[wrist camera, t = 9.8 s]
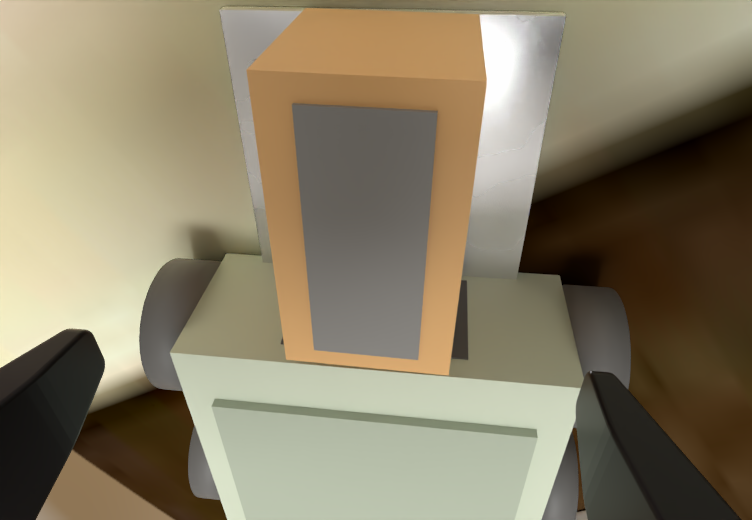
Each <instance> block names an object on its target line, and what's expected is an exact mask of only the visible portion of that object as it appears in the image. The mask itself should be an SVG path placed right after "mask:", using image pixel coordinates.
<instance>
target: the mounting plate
mask: <svg viewBox="0 0 752 520" xmlns="http://www.w3.org/2000/svg"><path fill="white" fill-rule="evenodd" d="M304 9H305V8H298V7H241V6H224V7H223V8H221V9H220V16H221V21H222V27H223V33H224V39H225V45H226V51H227V56H228V62H229V68H230V74H231V80H232V86H233V91H234V97H235V103H236V109H237V115H238V120H239V126H240V132H241V138H242V144H243V150H244V155H245V161H246V167H247V173H248V179H249V185H250V190H251V196H252V202H253V208H254V214H255V219H256V225H257V231H258V237H259V243H260V249H261V254H262V260H263V262H264V263H273V261H272V253H271V246H270V239H269V231H268V224H267V217H266V210H265V202H264V195H263V188H262V180H261V173H260V166H259V159H258V151H257V144H256V137H255V129H254V122H253V115H252V108H251V100H250V93H249V86H248V78H247V71H246V70H247V69H248V68H249V67H250V66H251V64H252V63H253V62H254V61H255V60H256V59H257V58H258V57H259V56H260V55H261V54H262V53H263V52H264V51H265V50H266V49H267V48H268V47H269V46H270V45H271V44H272V43H273V41H274V40H275V39H276V38H277V37H278V36H279V35H280V34H281V33H282V32H283V31H284V30H285V29H286V28H287V27H288V26H289V25H290V24H291V23H292V22H293V21H294V20H295V18H296V17H297V16H298V15H299V14H300V13H301V12H302V11H303V10H304ZM322 9H349V10H377V11H404V12H432V13H459V14H479V16H480V24H481V33H482V41H483V50H484V58H485V66H486V75H487V87H486V95H485V102H484V110H483V118H482V125H481V133H480V141H479V148H478V156H477V163H476V171H475V179H474V186H473V194H472V201H471V209H470V217H469V224H468V232H467V240H466V247H465V255H464V262H463V270H462V276H471V277H486V278H501V279H516V280H517V275H518V269H519V264H520V259H521V253H522V248H523V243H524V237H525V232H526V227H527V221H528V216H529V211H530V206H531V200H532V195H533V190H534V184H535V179H536V174H537V168H538V163H539V158H540V152H541V147H542V142H543V136H544V131H545V126H546V120H547V115H548V110H549V105H550V99H551V94H552V89H553V83H554V78H555V73H556V67H557V62H558V57H559V51H560V46H561V41H562V35H563V30H564V25H565V19H566V15H565V13H564V12H527V11H470V10H412V9H355V8H322Z"/></svg>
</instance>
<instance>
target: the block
mask: <svg viewBox="0 0 752 520" xmlns="http://www.w3.org/2000/svg"><path fill="white" fill-rule="evenodd" d="M246 71H247V78H248V86H249V93H250V100H251V108H252V115H253V122H254V129H255V137H256V144H257V151H258V159H259V166H260V173H261V180H262V188H263V195H264V202H265V210H266V217H267V224H268V231H269V239H270V246H271V253H272V261H273V268H274V275H275V283H276V290H277V297H278V304H279V312H280V319H281V326H282V334H283V341H284V348H285V355H286V360H295V361H305V362H315V363H325V364H336V365H346V366H356V367H366V368H376V369H387V370H397V371H407V372H417V373H427V374H438V375H448V376H449V369H450V361H451V354H452V346H453V339H454V331H455V323H456V316H457V308H458V301H459V293H460V285H461V278H462V270H463V262H464V255H465V247H466V240H467V232H468V224H469V217H470V209H471V201H472V194H473V186H474V179H475V171H476V163H477V156H478V148H479V141H480V133H481V125H482V118H483V110H484V102H485V95H486V87H487V75H486V66H485V58H484V50H483V41H482V33H481V24H480V16H479V14H459V13H432V12H404V11H377V10H349V9H322V8H305V9H304V10H303V11H302V12H301V13H300V14H299V15H298V16H297V17H296V18H295V20H294V21H293V22H292V23H291V24H290V25H289V26H288V27H287V28H286V29H285V30H284V31H283V32H282V33H281V34H280V35H279V36H278V37H277V38H276V39H275V40H274V41H273V43H272V44H271V45H270V46H269V47H268V48H267V49H266V50H265V51H264V52H263V53H262V54H261V55H260V56H259V57H258V58H257V59H256V60H255V61H254V62H253V63H252V64H251V66H250V67H249V68H248V69H247V70H246Z"/></svg>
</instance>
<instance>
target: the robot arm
mask: <svg viewBox="0 0 752 520" xmlns="http://www.w3.org/2000/svg"><path fill="white" fill-rule="evenodd" d="M104 368H105V361H104V357H103V355H102V353H101V351H100V349H99V346H98V344H97V342H96V340H95V338H94V336H93V334H92V333H91V332H90V331H88V330H82V329H66V330H64V331H62V332H60V333H58V334H57V335H55V336H53V337H52V338H50V339H48V340H47V341H45V342H43V343H42V344H40V345H38V346H36V347H35V348H33V349H31V350H30V351H28V352H26V353H25V354H23V355H21V356H20V357H18V358H16V359H15V360H13V361H11V362H10V363H8V364H6V365H5V366H3V367H1V368H0V520H36V518H37V516H38V514H39V512H40V510H41V508H42V507H43V505H44V503H45V501H46V499H47V497H48V495H49V493H50V491H51V489H52V487H53V485H54V484H55V482H56V480H57V478H58V476H59V474H60V472H61V470H62V468H63V466H64V464H65V462H66V461H67V459H68V457H69V455H70V453H71V451H72V449H73V447H74V444H75V442H76V440H77V438H78V435H79V433H80V430H81V428H82V425H83V423H84V420H85V418H86V415H87V413H88V410H89V408H90V405H91V403H92V400H93V398H94V395H95V393H96V390H97V388H98V385H99V383H100V380H101V378H102V375H103V372H104ZM576 424H577V434H578V445H579V456H580V467H581V478H582V488H583V497H584V503H585V508H586V514H587V519H588V520H741V519H740V517H739V516H738V515H737V514H736V513H735V512H734V511H733V509H732V508H731V507H730V506H729V505H728V504H727V503H726V501H725V500H724V499H723V498H722V497H721V496H720V495H719V493H718V492H717V491H716V490H715V489H714V488H713V487H712V485H711V484H710V483H709V482H708V481H707V480H706V479H705V477H704V476H703V475H702V474H701V473H700V472H699V471H698V469H697V468H696V467H695V466H694V465H693V464H692V463H691V461H690V460H689V459H688V458H687V457H686V456H685V454H684V453H683V452H682V451H681V450H680V449H679V448H678V446H677V445H676V444H675V443H674V442H673V441H672V440H671V438H670V437H669V436H668V435H667V434H666V433H665V432H664V430H663V429H662V428H661V427H660V426H659V425H658V424H657V422H656V421H655V420H654V419H653V418H652V417H651V416H650V414H649V413H648V412H647V411H646V410H645V409H644V408H643V406H642V405H641V404H640V403H639V402H638V401H637V400H636V398H635V397H634V396H633V395H632V394H631V393H630V392H629V390H628V389H627V388H626V387H625V386H624V385H623V383H622V382H621V381H620V380H619V379H618V378H617V377H616V376H615V375H614V374H613V373H610V372H601V371H589V372H587V373H586V375H585V377H584V380H583V383H582V386H581V389H580V392H579V395H578V398H577V401H576Z"/></svg>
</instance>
